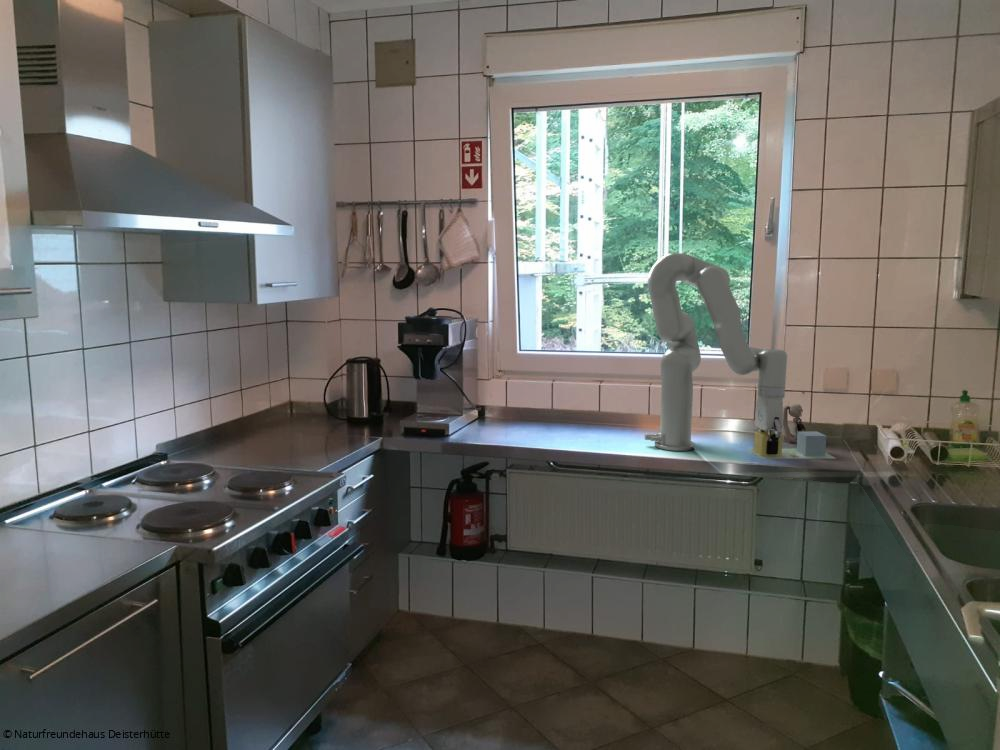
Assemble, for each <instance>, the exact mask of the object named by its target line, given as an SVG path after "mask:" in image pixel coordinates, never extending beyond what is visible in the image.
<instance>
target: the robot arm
mask: <svg viewBox="0 0 1000 750" xmlns="http://www.w3.org/2000/svg"><path fill="white" fill-rule="evenodd" d="M647 277H648V278H647V287H648V293H649V298H650V302H651V303H650V304H651V309H652V313H653V319H654V323H655V329H656V334H657V335H658V337H659V338H660V340H662V341H663V342H664V343H665V342H666V343H667V346H668V349H667V350H666V351H665V352H664V354H663V355H662V357H661V360H660V378H661V380H660V381H661V389H660V390H661V392H660V393H661V396H660V397H661V398H660V399H661V400H660V421H659V422H660V423H659V427H660V428H659V430H656V431H657V432H654V433H652V434H651V433H645V434H644V440H645V441H651V442H654V447H656V448H658V449H661V450H665V451H673V452H683V451H684V452H686V451H687V452H688V451H692V450H694V449H695V448H694V447H695V446H696V442H694V441H692V424H693V423H692V421H693V399H694V398H693V397H694V385H693V381H694V380H693V372H694V371H696V370H697V368H699V366H700V364H701V359H702V358H701V357H702V356H701V351H700V346H699V345H700V344H699V341H698V337H697V330H696V327H695V324H694V322H693V319H692V317H691V316H690V315H689V314H688V313H687V312H685V311H683V310H682V304H681V301H680V296H679V293H678V290H677V287H676V285H677V284H676V283H677V282H682V283H685V284H687V285H689V286H692V287H695V288H697V290H698V293H699V294H700V297H701V299H702V302H703V303H704V306H705V308H706V310H707V313H708V315H709V317H710V319H711V322H712V324H713V328H714V331H715V334H716V339H717V342H718V345H719V347H720V350H721V352H722V354H723V356H724V359H725V360H726V362H727V366H729V368H730V369H731V371H733V373H735V374H736V375H739V376H745V375H748V374H750V373H751V374H752V372H758V379H757V380H758V382H757V383H758V384H757V400H756V404H755V415H754V425H755V427H757V429H758V431H757V432H768V440H769V441H767V451H766V453H767V454H768V455H777V454H778V442H779V437H780V435H781V433H782V431H781V430H782V424H783V407H784V401H783V400H784V399H785V395H786V394H785V393H786V378H787V365H788V364H787V363H788V362H787V361H788V354H787V352H786V351H785V350H783V349H777V348H776V349H775V348H773V349H772V348H770V349H768V348H767V349H763V348H758V347H752V346H749V345H748V342H747V340H746V338H745V334H744V332H743V328H742V313H741V309H740V307H739V305H738V303H737V301H736V299H735V296H734V295H733V292H732V290H731V287H730V283H731V282H730V279H731V278H730V275H729V273H728V271H726V269H725V268H723V267H720V266H718V265H716V264H712V263H710V262H707V261H705V260H703V259H700V258H698V257H695V256H692V255H690V254H688V253H679V252H671V253H668V254H665V255H663V256H661V257H660V258H659V259H657V261H656V262H655V263H654V264H653V265H652V267H651V269H650V271H649V273H648V276H647ZM771 433H774V434H773V435H772V436H771Z"/></svg>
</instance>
